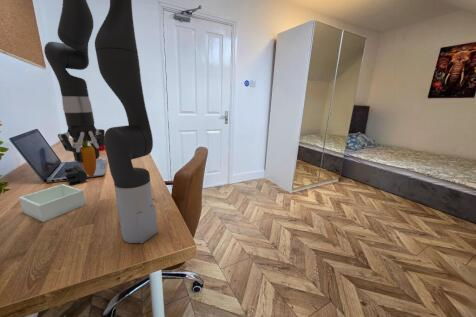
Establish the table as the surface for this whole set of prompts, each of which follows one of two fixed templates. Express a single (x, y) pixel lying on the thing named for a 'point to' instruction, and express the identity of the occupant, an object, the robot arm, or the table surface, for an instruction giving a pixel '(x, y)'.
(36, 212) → the bin
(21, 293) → the table surface
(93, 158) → the carrot
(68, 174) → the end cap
